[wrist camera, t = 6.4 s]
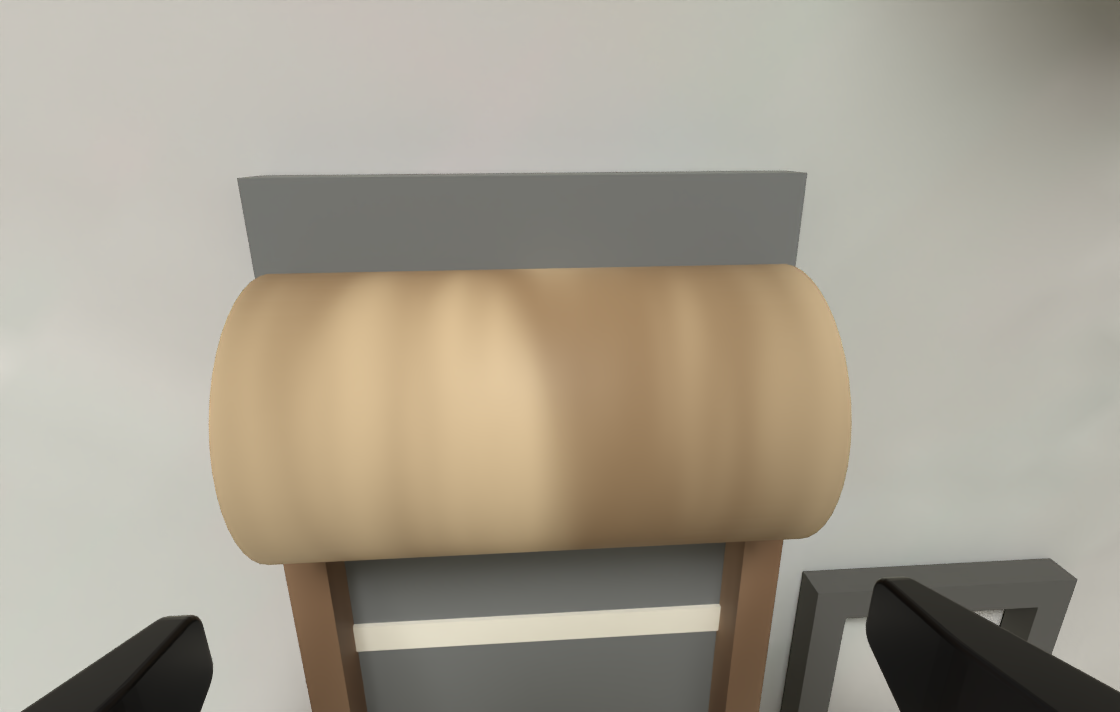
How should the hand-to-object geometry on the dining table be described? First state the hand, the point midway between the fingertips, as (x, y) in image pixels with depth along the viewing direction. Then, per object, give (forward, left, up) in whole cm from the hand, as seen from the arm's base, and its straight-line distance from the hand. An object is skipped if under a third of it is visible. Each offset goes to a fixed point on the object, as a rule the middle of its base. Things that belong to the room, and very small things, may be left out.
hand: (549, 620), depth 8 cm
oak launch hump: (0, -1, -6) cm, 6 cm away
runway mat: (0, +2, -6) cm, 6 cm away
